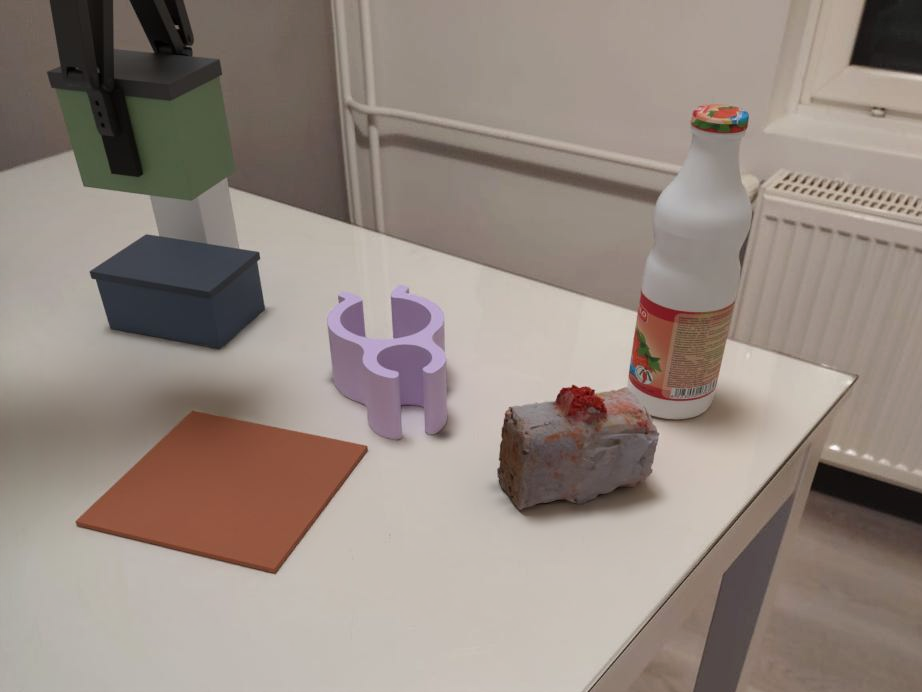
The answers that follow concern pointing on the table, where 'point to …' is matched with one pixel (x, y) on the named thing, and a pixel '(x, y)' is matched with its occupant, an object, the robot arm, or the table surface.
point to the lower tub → (181, 290)
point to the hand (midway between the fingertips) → (155, 157)
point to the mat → (226, 490)
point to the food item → (575, 446)
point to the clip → (391, 361)
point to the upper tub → (156, 125)
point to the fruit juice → (692, 271)
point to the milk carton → (198, 217)
